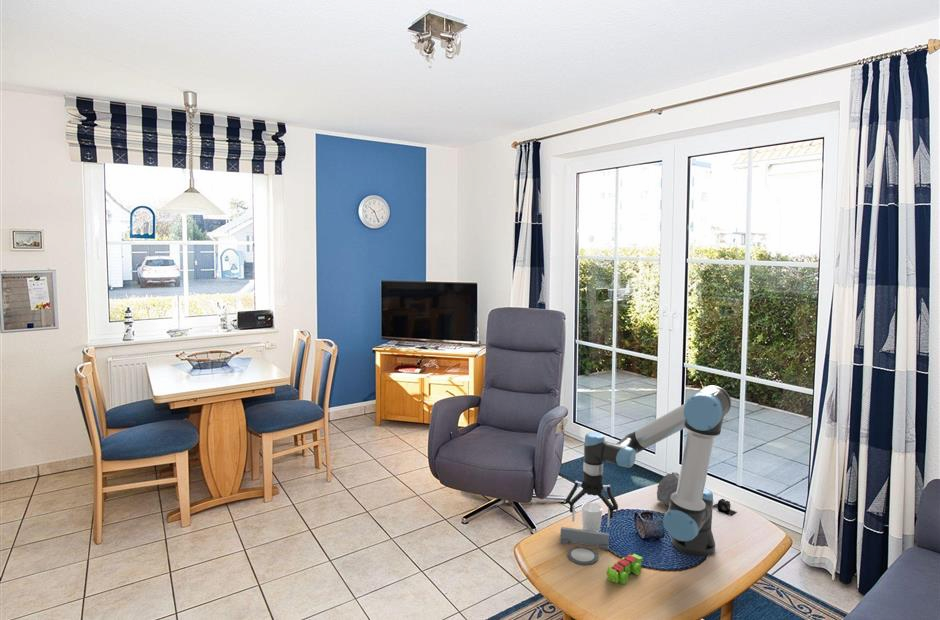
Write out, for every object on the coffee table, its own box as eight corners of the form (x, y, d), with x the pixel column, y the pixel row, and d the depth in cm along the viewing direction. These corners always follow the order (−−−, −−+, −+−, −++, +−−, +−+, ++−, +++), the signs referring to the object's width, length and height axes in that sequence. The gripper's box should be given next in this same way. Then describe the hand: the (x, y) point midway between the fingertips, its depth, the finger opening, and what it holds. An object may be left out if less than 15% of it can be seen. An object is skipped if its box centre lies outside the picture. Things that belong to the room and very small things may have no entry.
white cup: (601, 537, 219) (602, 512, 218) (581, 534, 221) (581, 511, 220) (601, 526, 227) (601, 503, 226) (581, 524, 229) (581, 501, 227)
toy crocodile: (631, 560, 204) (632, 544, 203) (648, 568, 199) (648, 552, 199) (599, 582, 191) (599, 565, 190) (616, 591, 186) (616, 574, 186)
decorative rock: (654, 501, 248) (656, 469, 246) (663, 497, 252) (665, 465, 250) (688, 516, 235) (690, 482, 233) (697, 511, 239) (699, 478, 237)
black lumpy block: (742, 514, 238) (742, 504, 237) (733, 519, 233) (733, 509, 233) (714, 503, 248) (714, 493, 247) (705, 508, 243) (705, 498, 243)
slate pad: (598, 550, 210) (598, 548, 210) (597, 567, 200) (597, 565, 200) (568, 546, 213) (569, 544, 213) (565, 562, 203) (566, 560, 203)
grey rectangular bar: (608, 543, 215) (609, 530, 214) (608, 550, 210) (608, 537, 210) (561, 536, 220) (561, 524, 219) (560, 543, 215) (560, 531, 214)
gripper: (625, 471, 221) (623, 522, 224) (562, 464, 228) (560, 513, 231) (625, 480, 214) (623, 531, 217) (559, 471, 220) (558, 522, 224)
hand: (590, 522), depth 224 cm, fingers open, 13 cm apart
